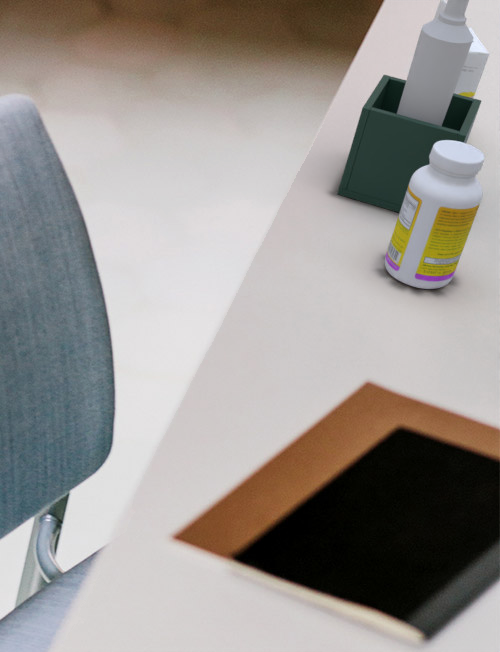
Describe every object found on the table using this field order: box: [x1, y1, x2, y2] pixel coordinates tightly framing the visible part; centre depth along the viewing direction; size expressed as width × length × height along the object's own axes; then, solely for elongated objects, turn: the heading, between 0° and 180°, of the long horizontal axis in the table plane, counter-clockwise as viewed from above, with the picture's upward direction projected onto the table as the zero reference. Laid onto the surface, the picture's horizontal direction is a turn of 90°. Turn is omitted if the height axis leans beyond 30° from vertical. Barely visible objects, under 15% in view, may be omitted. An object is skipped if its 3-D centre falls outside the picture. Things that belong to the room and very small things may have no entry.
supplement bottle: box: [384, 140, 486, 290], centre depth 112 cm, size 7×7×13 cm
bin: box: [337, 74, 482, 213], centre depth 126 cm, size 11×11×10 cm
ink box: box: [433, 0, 490, 99], centre depth 137 cm, size 9×5×15 cm, turn 179°
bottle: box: [397, 0, 474, 126], centre depth 121 cm, size 5×5×25 cm
